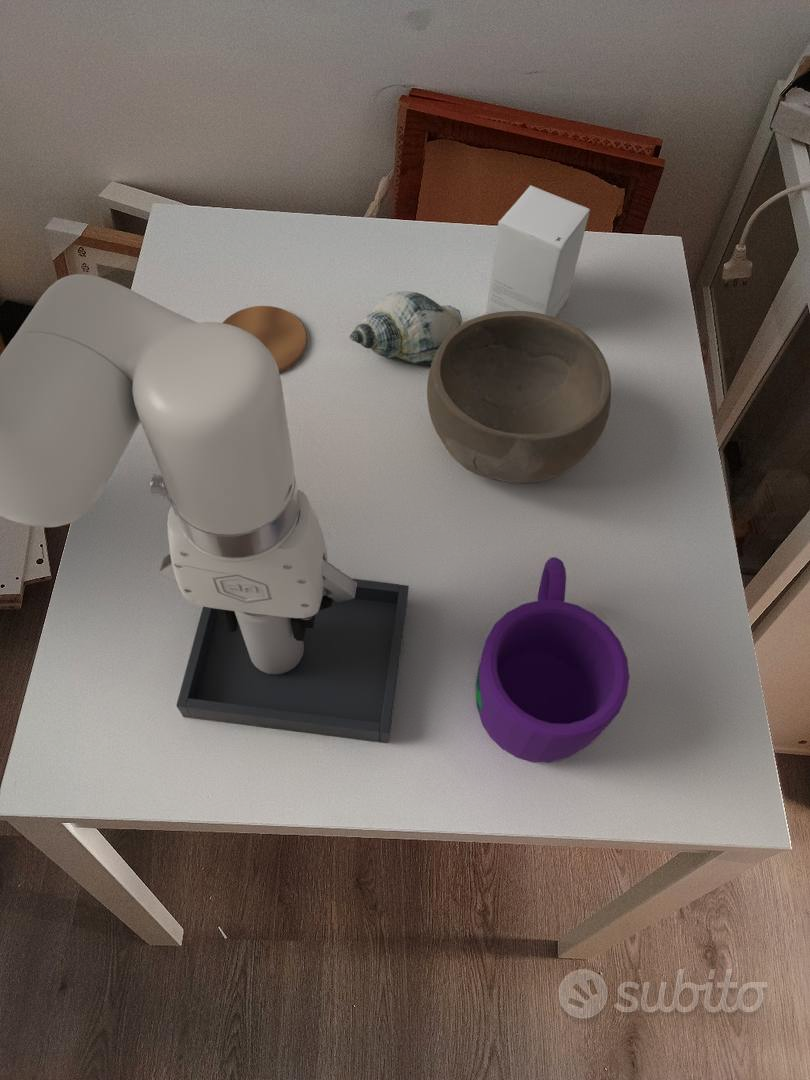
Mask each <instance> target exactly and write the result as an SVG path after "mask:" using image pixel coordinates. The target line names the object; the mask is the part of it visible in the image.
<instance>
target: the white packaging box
mask: <svg viewBox="0 0 810 1080" xmlns="http://www.w3.org/2000/svg"><path fill="white" fill-rule="evenodd" d="M590 211H591V208H588V207H586V206H584V205H581V204H578V203H576V202H573V201H570V200H568V199H566V198H564V197H560V196H558V195H556V194H553V193H551V192H548V191H546V190H544V189H541V188H539V187H536V186H533V185H531V184H530V185H529V186H528V187H527V188H526V190H525V191H524V192H523V193H522V194H521V196H519V198H518V199H517V200H516V201H515V202H514V204H513V205H512V206H511V207H510V208H509V209H508V210H507V211H506V213H505V214H504V215H503V216H502V217H501V218H500V219H499V221H498V222H497V232H496V239H495V247H494V252H493V260H492V266H491V274H490V281H489V286H488V287H489V288H488V296H487V301H486V302H487V304H486V311H485V313H486V315H487V314H491V313H496V312H503V311H529V312H536V313H540V314H545V315H547V316H552V317H555V318H556V316H557V315H558V314H559V312H560V311H561V309H562V308H563V307H564V306H565V304H566V303H567V301H568V300H569V299H568V298H569V295H570V291H571V287H572V283H573V279H574V275H575V271H576V267H577V262H578V260H579V255H580V251H581V248H582V244H583V239H584V237H585V232H586V228H587V224H588V220H589V216H590V213H591V212H590Z"/></svg>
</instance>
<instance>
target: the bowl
mask: <svg viewBox="0 0 810 1080" xmlns="http://www.w3.org/2000/svg"><path fill="white" fill-rule="evenodd" d="M611 381H612V380H611V373H610V369H609V366H608V363H607V360H606V358H605V355H604V353H603V352H602V350H601V349H600V348H599V346H598V345H597V343H596V342H595V341H594V340H593V339H592V338H591V337H590V336H589V335H588V334H587V333H586V332H584V330H581V328H579V327H577V326H575V325H574V324H572V323H569V322H568V321H565V320H564V319H561V318H558V317H556V316H555V317H552V316H547V315H545V314H540V313H536V312H529V311H503V312H496V313H491V314H487V313H486V314H483V315H480V316H477V317H474V318H471V319H469V320H467V321H466V322H464V323H461V325H460V326H459V327H457V328H456V329H455V330H453V331H452V332H451V333H450V334H449V335H448V336H447V337H446V338H445V339H444V340H443V342H442V344H441V345H440V347H439V348H438V350H437V352H436V354H435V356H434V359H433V361H432V364H430V368H429V372H428V378H427V385H426V387H427V388H426V401H427V406H428V412H429V417H430V420H431V424H432V425H433V427H434V429H435V432H436V434H437V435H438V437H439V439H440V440H441V442H442V444H443V445H444V447H445V449H446V451H448V452H449V455H450V456H451V457H452V458H453V459H454V460H455V461H456V462H457V463H459V465H461V467H463V468H464V469H466V470H468V471H469V472H471V473H473V474H475V475H478V476H480V477H484V478H487V479H491V480H498V481H502V482H503V481H504V482H508V483H520V484H521V483H523V484H524V483H526V484H527V483H536V482H542V481H546V480H549V479H552V478H554V477H557V476H560V475H561V474H563V473H564V472H566V471H568V470H569V469H571V468H572V467H574V466H575V465H577V464H578V463H579V462H581V460H583V459H584V458H585V457H586V456H587V455H589V453H590V452H591V450H592V449H593V447H594V446H595V445H596V444H597V442H598V441H599V439H600V437H601V435H602V434H603V432H604V431H605V428H606V425H607V422H608V419H609V415H610V409H611V403H612V383H611Z"/></svg>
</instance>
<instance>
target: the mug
mask: <svg viewBox="0 0 810 1080" xmlns="http://www.w3.org/2000/svg"><path fill="white" fill-rule="evenodd" d="M566 570H567V569H566V567H565V564H564V562H563V561H562V560H561V559H560V558H558V557H556V556H551V557H550V558H548V559H547V560H546V561H545V563H544V567H543V571H542V573H541V577H540V582H539V587H538V592H537V600H534V601H531V602H526V603H523V604H520V605H518V606H517V607H515V608H513V609H511V610H509V611H507V612H506V613H505V614H504V615H503V616H502V617H501V618H499V619H498V621H496V622H495V623H494V625H493V627H492V628H491V630H490V632H489V634H488V635H487V637H486V638H485V641H484V645H483V647H482V652H481V656H480V660H479V664H478V667H477V668H478V669H477V674H476V679H475V680H476V681H475V698H476V699H475V703H476V709H477V713H478V716H479V719H480V723H481V725H482V726H483V728H484V730H485V731H486V733H487V734H488V736H489V737H490V739H491V740H492V741H493V742H494V743H495V744H496V745H497V746H499V747H500V748H501V749H502V750H503V751H505V752H507V753H508V754H510V755H512V756H513V757H514V758H517V759H520V760H523V761H527V762H531V763H535V764H537V763H539V764H541V763H543V764H544V763H545V764H546V763H547V764H551V763H554V762H558V761H561V760H566V759H568V758H570V757H572V756H573V755H576V754H577V753H579V752H580V751H582V750H584V749H585V748H587V747H588V746H590V745H591V744H592V743H593V742H594V741H595V740H596V739H597V738H598V737H599V736H600V735H601V734H602V733H603V732H604V730H605V729H606V728H607V727H608V726H609V725H610V724H611V723H612V722H613V721H614V719H615V718H616V717H617V716H618V714H619V713H620V711H621V709H622V707H623V705H624V702H625V700H626V698H627V696H628V690H629V683H630V670H629V663H628V657H627V654H626V653H625V650H624V648H623V645H622V643H621V640H620V639H619V638H618V636H617V635H616V634H615V633H614V632H613V630H612V629H611V627H610V626H609V625H608V624H607V623H606V622H604V620H602V619H601V618H599V617H598V615H596V614H595V613H593V612H591V611H590V610H588V609H586V608H584V607H582V606H580V605H578V604H574V603H570V602H567V601H565V598H566V586H567V571H566Z"/></svg>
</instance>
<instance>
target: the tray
mask: <svg viewBox="0 0 810 1080" xmlns="http://www.w3.org/2000/svg"><path fill="white" fill-rule="evenodd" d="M350 578H351V577H350ZM351 579H353V580H354V581H356V582H357V587H356V593H355V598H354V599H353V600H349V601H345V602H340V603H336V602H333V603H332V606H331V607H329V608H326V609H323V610H320V611H318V613H317V614H316V615H315V621H314V626H313V628H306V630H305V635H304V640H303V642H304V652H303V656H302V658H301V660H300V662H299V663H298V664H297V665H296V666H295V667H294V668H293V669H291V670H290V671H288V672H285V673H282V674H267V673H265V672H262V671H260V670H259V669H258V668H257V667H255V665H254V664H253V663H252V661H251V658H250V655H249V652H248V649H247V647H246V644H245V641H244V638H243V635H242V632H241V629H240V626H239V623H238V627H237V631H234V633H232V632H227V631H226V628H225V626H224V623H223V620H222V618H221V617H219V616H218V614H217V611H216V609H213V608H209V607H204V606H202V608H201V612H200V616H199V620H198V625H197V627H196V631H195V635H194V638H193V642H192V646H191V650H190V654H189V657H188V660H187V665H186V668H185V671H184V676H183V679H182V683H181V686H180V690H179V694H178V698H177V701H176V707H177V709H178V711H179V713H180V714H181V716H182V718H188V719H195V720H196V719H197V720H203V721H204V720H205V721H211V722H217V723H218V722H219V723H226V724H235V725H242V726H251V727H257V728H264V729H265V728H266V729H272V730H273V729H274V730H281V731H289V732H298V733H304V734H312V735H321V736H328V737H336V738H344V739H351V740H359V741H368V742H373V743H374V742H375V743H382V744H389V742H390V736H391V727H392V721H393V712H394V706H395V705H394V704H395V698H396V690H397V681H398V676H399V667H400V659H401V651H402V645H403V644H402V643H403V637H404V630H405V629H404V628H405V621H406V616H407V615H406V613H407V607H408V598H409V585H408V584H400V583H392V582H384V581H376V580H367V579H360V578H351Z"/></svg>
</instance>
